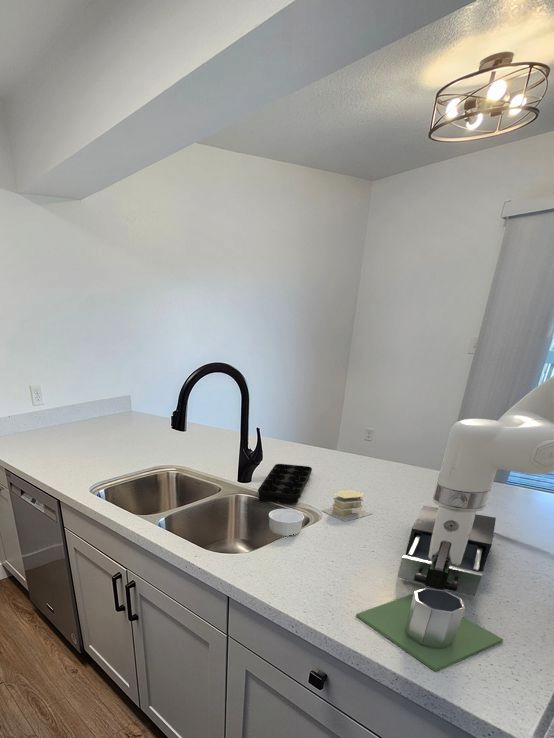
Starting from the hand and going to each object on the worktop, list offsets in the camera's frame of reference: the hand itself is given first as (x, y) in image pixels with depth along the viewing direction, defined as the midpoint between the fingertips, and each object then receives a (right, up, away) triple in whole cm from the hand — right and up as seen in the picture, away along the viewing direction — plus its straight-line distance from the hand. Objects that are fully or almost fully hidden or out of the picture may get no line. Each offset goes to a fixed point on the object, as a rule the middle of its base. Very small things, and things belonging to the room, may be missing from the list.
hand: (434, 586), depth 82 cm
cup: (-6, -8, -7) cm, 12 cm away
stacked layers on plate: (+2, +16, +41) cm, 45 cm away
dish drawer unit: (+16, +7, +20) cm, 27 cm away
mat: (-5, -7, -4) cm, 10 cm away
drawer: (+6, +1, +9) cm, 11 cm away
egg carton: (-9, +26, +61) cm, 67 cm away
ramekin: (-18, +11, +34) cm, 40 cm away
